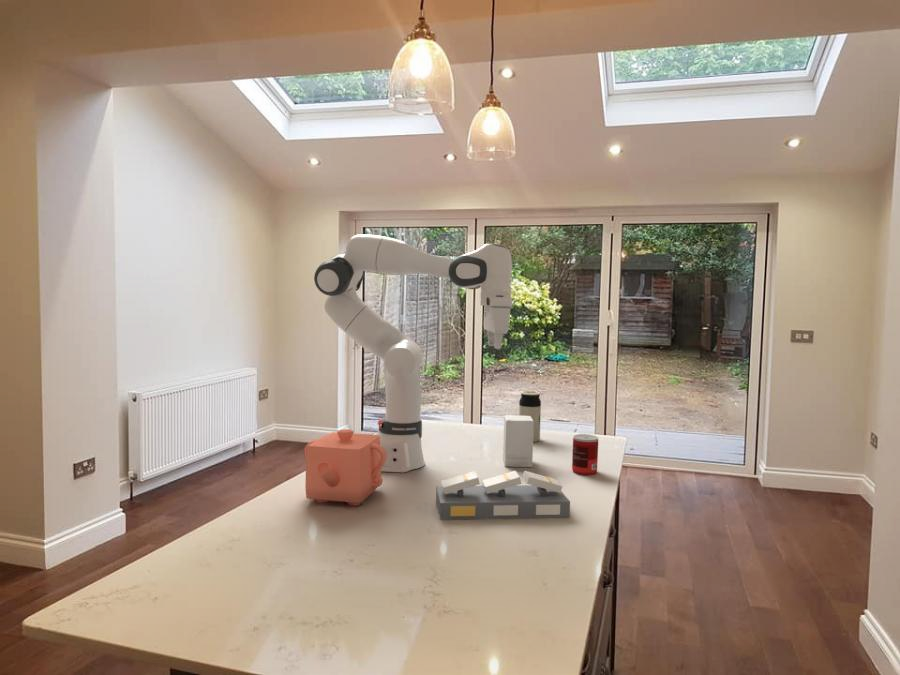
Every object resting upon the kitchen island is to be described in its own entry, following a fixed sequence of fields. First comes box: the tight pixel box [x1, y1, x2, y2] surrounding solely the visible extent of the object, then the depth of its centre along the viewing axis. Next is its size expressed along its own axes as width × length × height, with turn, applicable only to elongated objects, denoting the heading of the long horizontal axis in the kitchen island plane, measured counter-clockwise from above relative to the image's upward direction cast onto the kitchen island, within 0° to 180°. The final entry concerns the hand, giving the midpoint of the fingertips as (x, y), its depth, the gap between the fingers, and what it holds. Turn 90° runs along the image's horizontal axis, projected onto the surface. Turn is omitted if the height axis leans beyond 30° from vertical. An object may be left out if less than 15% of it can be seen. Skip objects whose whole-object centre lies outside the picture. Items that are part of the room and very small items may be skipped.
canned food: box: [571, 433, 599, 476], centre depth 195 cm, size 8×8×11 cm
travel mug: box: [518, 390, 542, 443], centre depth 235 cm, size 8×8×18 cm
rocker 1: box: [441, 470, 481, 494], centre depth 159 cm, size 9×6×2 cm, turn 95°
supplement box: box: [502, 414, 534, 468], centre depth 203 cm, size 9×9×15 cm
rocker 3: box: [522, 470, 563, 493], centre depth 161 cm, size 9×6×2 cm, turn 96°
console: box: [435, 484, 571, 520], centre depth 160 cm, size 32×13×6 cm, turn 96°
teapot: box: [304, 428, 387, 506], centre depth 163 cm, size 25×23×18 cm
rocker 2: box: [481, 470, 522, 494], centre depth 160 cm, size 9×6×2 cm, turn 95°
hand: (494, 347), depth 184 cm, fingers open, 8 cm apart
